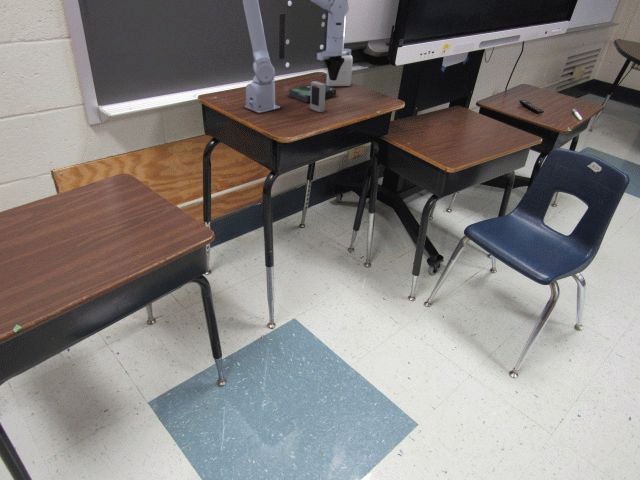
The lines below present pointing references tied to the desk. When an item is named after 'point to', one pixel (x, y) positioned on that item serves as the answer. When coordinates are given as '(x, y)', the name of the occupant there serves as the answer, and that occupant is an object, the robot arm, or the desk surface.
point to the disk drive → (309, 92)
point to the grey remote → (317, 96)
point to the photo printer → (342, 73)
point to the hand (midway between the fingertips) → (332, 79)
